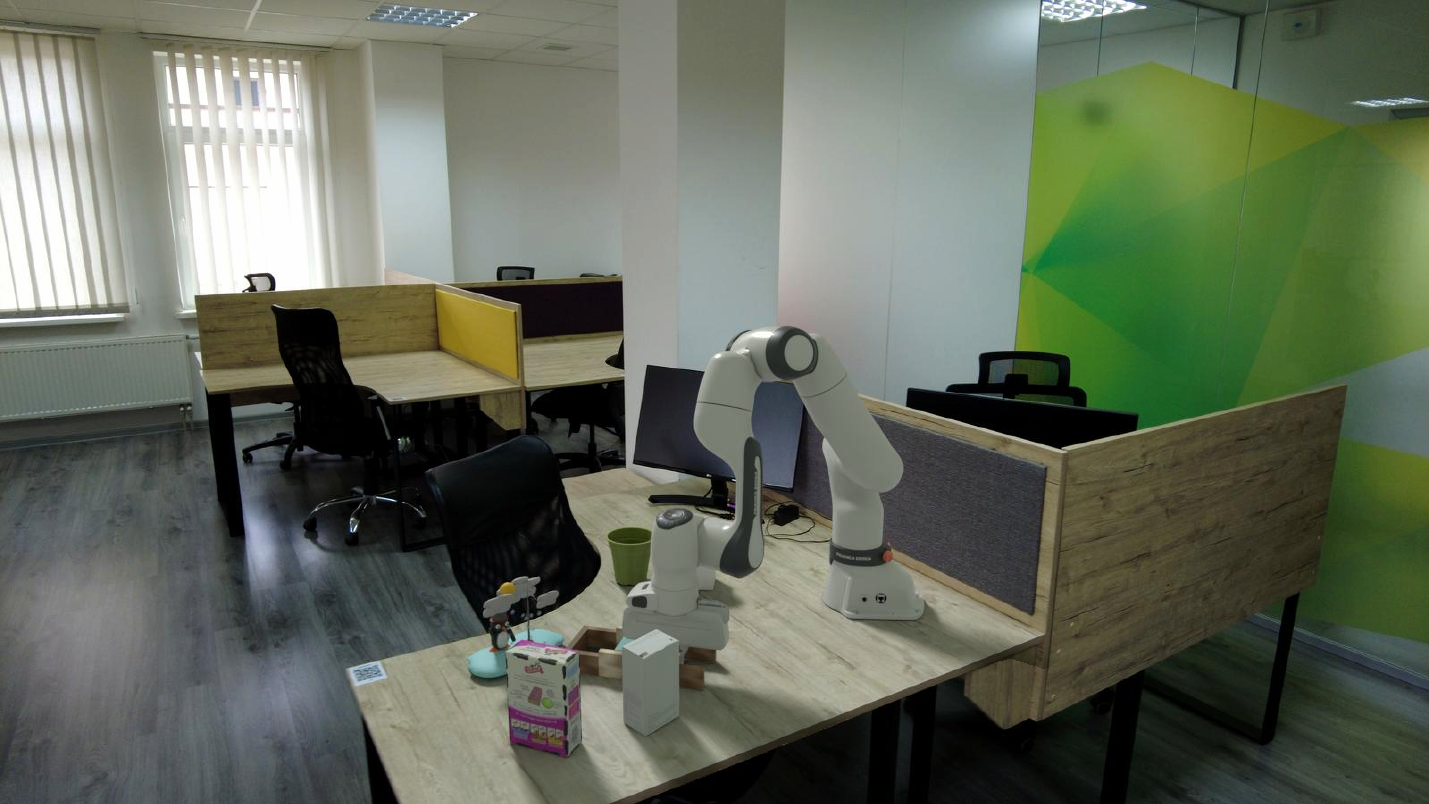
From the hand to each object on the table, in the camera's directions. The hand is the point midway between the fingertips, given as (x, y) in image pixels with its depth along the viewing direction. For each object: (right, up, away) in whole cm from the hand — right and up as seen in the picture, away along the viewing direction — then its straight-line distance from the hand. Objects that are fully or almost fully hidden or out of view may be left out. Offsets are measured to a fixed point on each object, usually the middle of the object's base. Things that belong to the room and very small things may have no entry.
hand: (675, 663), depth 161 cm
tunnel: (-7, -1, +2) cm, 7 cm away
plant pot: (-12, +7, +40) cm, 42 cm away
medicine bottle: (+4, +7, +38) cm, 39 cm away
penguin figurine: (-31, 0, +4) cm, 31 cm away
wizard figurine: (+15, +14, +71) cm, 74 cm away
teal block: (-8, -1, +2) cm, 8 cm away
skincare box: (-3, -5, -16) cm, 17 cm away
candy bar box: (-20, -6, -22) cm, 31 cm away
